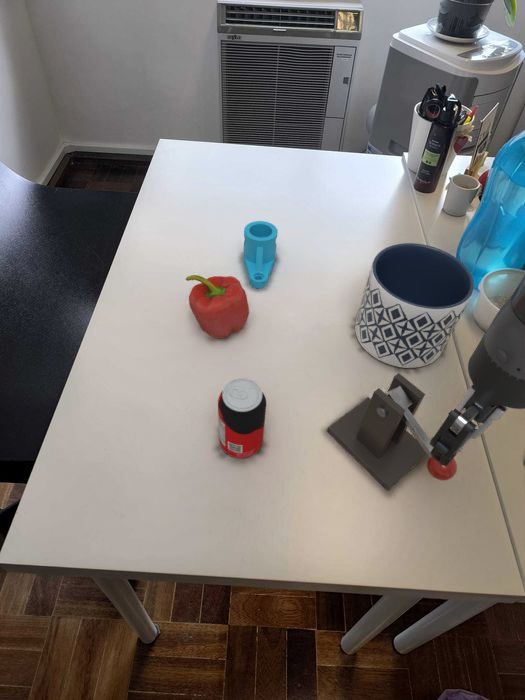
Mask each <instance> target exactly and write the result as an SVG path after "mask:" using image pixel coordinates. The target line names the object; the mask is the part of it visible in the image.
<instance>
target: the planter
mask: <svg viewBox="0 0 525 700" xmlns="http://www.w3.org/2000/svg"><path fill="white" fill-rule="evenodd" d="M474 289H475V281H474V277H473V275H472V273H471V271H470V270H469V268H468V267H467V266H466V265H465V264H464V263H463V261H461V260H460V259H459V258H457V257H456V256H454V255H453V254H451V253H450V252H447V251H446V250H444V249H440V248H438V247H435V246H432V245H429V244H424V243H423V244H422V243H413V242H407V243H406V242H405V243H397V244H393V245H390V246H388V247H385V248H383V249H381V250H380V251H379V252H378V253H377V254H376V255H375V257H374V259H373V261H372V264H371V267H370V270H369V274H368V277H367V280H366V284H365V286H364V291H363V294H362V297H361V302H360V304H359V308H358V311H357V315H356V319H355V324H354V332H355V336H356V338H357V340H358V343H359V344H360V345H361V346H362V348H363V349H364V350H365V351H366V352H367V353H368V354H370V356H372V357H373V358H374V359H376V360H378V361H379V362H382V363H384V364H387V365H390V366H393V367H398V368H405V369H415V368H421V367H425V366H428V365H430V364H432V363H433V362H435V361H437V360H438V359H439V357H440V356H441V355H442V354H443V351H444V349H445V348H446V346H447V344H448V342H449V340H450V338H451V336H452V334H453V333H454V330H455V328H456V327H457V325H458V322H459V321H460V319H461V317H462V315H463V313H464V311H465V309H466V307H467V305H468V303H469V301H470V299H471V297H472V295H473V293H474Z"/></svg>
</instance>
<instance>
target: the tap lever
mask: <svg viewBox="0 0 525 700" xmlns="http://www.w3.org/2000/svg"><path fill="white" fill-rule="evenodd" d="M385 394H387V395H388V396H389V397H390V398H391V399H393V400H394V401H395V402H396V403H397V404H398V405H400V406H401V407H402V408H403V409H404V410H405V412H404V414H403V416H402V420H403V421H404V423H405V424H406V425H407V427H408V428H407V429H408V430H409V431H410V433H411V435H412V436H413V437H414V438H416V440H417V441H418V442H419V444H420V445H421V447H422V448H423V449H424V451H425V452H426V454H427V457H428V459H427V461H426V462H427V463H426V468H427V471H428V473H429V474H430V476H431V477H433V478H434V479H436V480H437V481H448V480H451V479H452V478H454V477H455V475H456V473H457V470H458V464H457V461H456V459H455V457H454V458H453V460H452V461H451V462H450V463H449V464H448V465H447V466H444V465H441V464H440V463H439V462H438V461H437V460H435V459H434V458H433V457H432V455H431V451H432V449H433V448H434V447H433V446H431V445H430V444H429V443H430V442H431V438H429V436H428V434H427V433H426V432H425V430H424V429H423V427H422V426H421V424H420V423H419V422H418V421H417V419H416V418H415V415H414V416H413V415H412V413H411V412H410V411H409V409H408V407H409V406H410V405H411V404H412V402H411V400H410V399H409V397H408V396H407V395H406V393H405V392H404V390H403V389H402V388H401V386H398V387H396V388H394V389H392V390H390V391H388V390H387V392H385Z"/></svg>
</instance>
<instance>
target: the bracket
mask: <svg viewBox="0 0 525 700" xmlns="http://www.w3.org/2000/svg"><path fill="white" fill-rule="evenodd" d="M243 238H244V241H243V259H242V260H243V264H244V267H245V271H246V274H247V277H248V281H249V285H250V286H251V287H252V288H254V289H263V288H265V287H266V286H267V285H268V281H269V279H270V276H271V274H272V272H273V269H274V266H275V263H276V254H277V253H276V252H277V238H278V228H277V227H276V225H275V224H273V223H271V222H269V221H265V220H264V221H263V220H255V221H252V222H249V223H247V224H246V225H245V226H244V228H243Z"/></svg>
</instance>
